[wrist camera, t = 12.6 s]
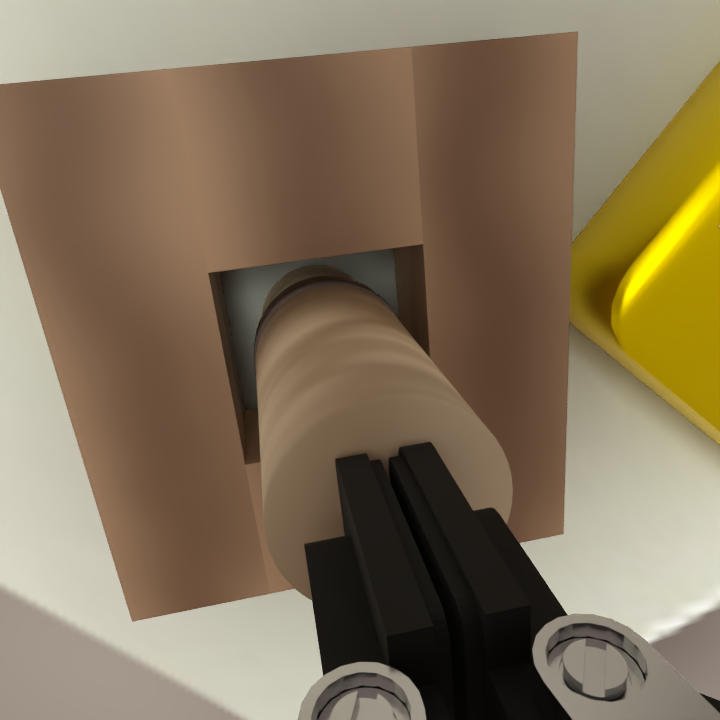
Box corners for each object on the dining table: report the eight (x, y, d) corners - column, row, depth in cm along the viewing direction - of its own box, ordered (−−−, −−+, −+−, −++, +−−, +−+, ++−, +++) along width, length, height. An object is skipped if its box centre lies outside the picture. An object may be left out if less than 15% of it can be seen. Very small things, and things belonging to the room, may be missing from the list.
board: (515, 50, 20) (577, 31, 16) (517, 475, 26) (563, 533, 22) (26, 96, 18) (-31, 87, 14) (149, 544, 24) (132, 621, 20)
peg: (372, 246, 21) (514, 373, 10) (383, 366, 23) (516, 589, 12) (241, 264, 21) (239, 419, 9) (263, 386, 22) (281, 639, 11)
